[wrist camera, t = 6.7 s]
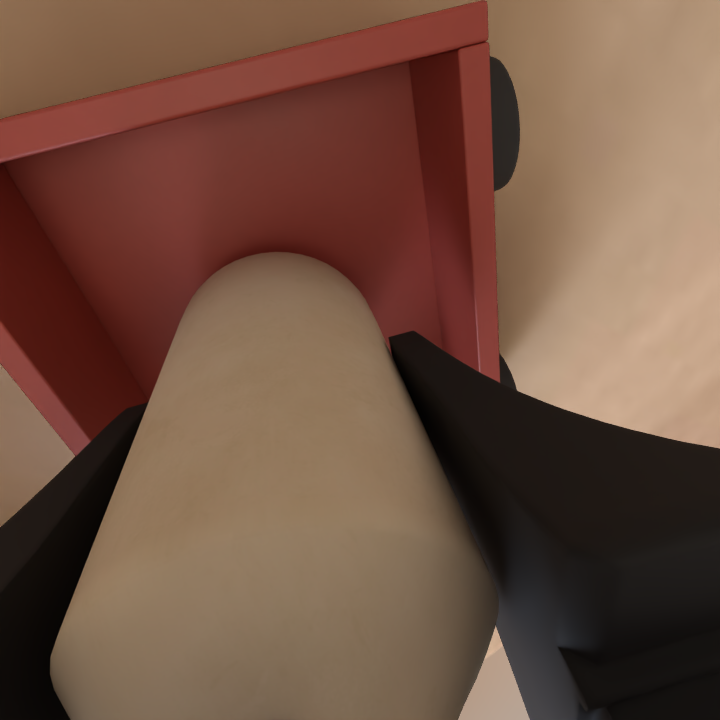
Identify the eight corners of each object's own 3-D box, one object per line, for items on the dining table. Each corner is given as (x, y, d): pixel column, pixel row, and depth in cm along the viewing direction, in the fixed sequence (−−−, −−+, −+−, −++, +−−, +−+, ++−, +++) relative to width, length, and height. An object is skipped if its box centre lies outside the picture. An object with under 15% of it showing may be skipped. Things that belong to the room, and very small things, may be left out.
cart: (461, 418, 18) (504, 493, 15) (197, 492, 18) (180, 586, 14) (421, 26, 11) (489, -2, 7) (-27, 137, 10) (-167, 159, 7)
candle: (312, 207, 11) (447, 600, 3) (403, 361, 14) (606, 777, 5) (136, 317, 12) (-214, 908, 3) (258, 441, 15) (243, 918, 6)
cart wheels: (490, 483, 21) (525, 546, 18) (214, 562, 20) (205, 640, 17) (466, 58, 11) (531, 48, 8) (-46, 187, 11) (-158, 222, 8)
